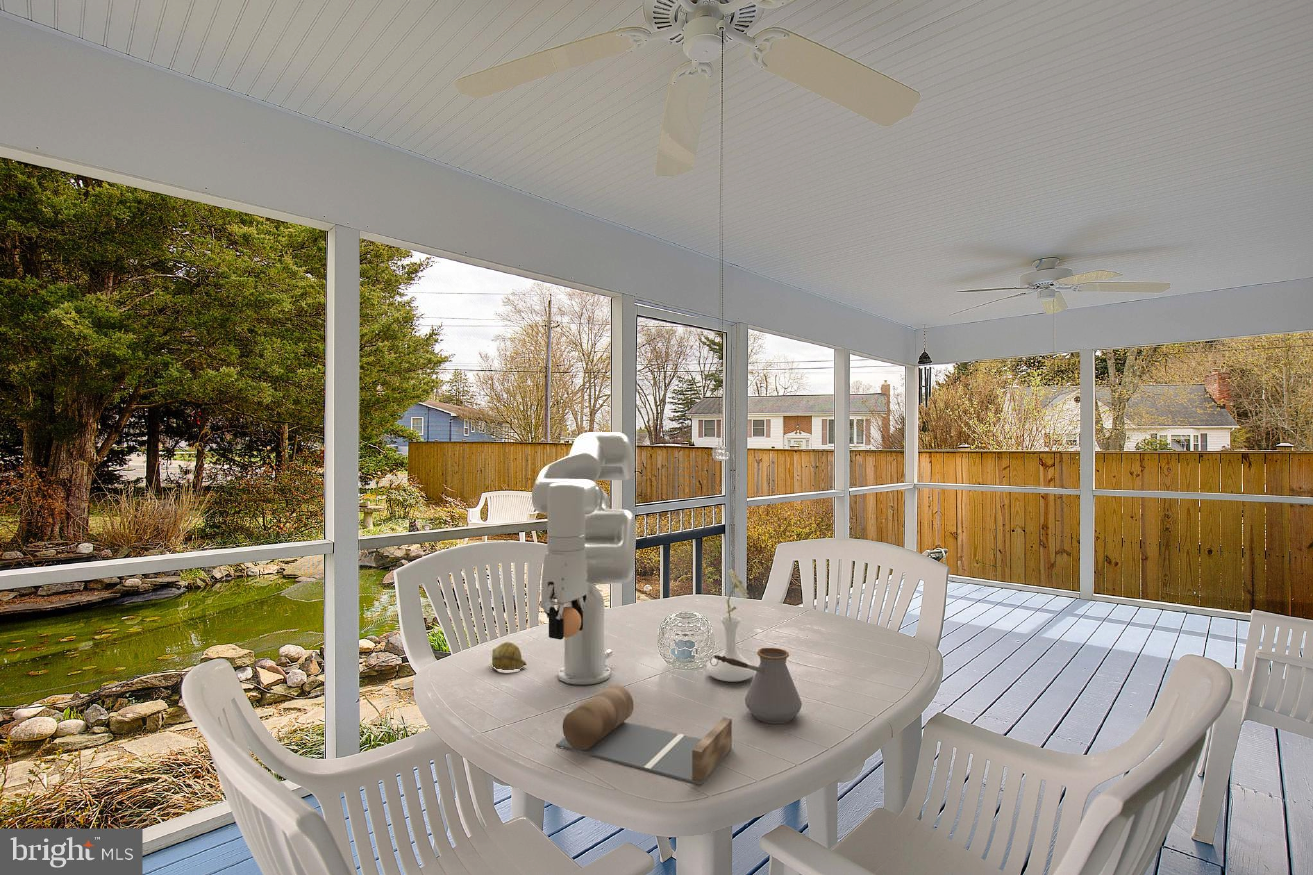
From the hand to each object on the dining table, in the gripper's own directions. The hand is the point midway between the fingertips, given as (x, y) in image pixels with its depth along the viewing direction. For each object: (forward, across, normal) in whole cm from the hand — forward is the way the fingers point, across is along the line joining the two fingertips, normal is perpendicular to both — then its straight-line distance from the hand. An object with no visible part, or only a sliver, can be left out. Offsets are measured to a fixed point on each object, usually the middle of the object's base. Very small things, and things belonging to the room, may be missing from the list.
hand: (566, 632), depth 130 cm
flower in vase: (+18, -38, +20) cm, 47 cm away
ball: (-2, 0, 0) cm, 2 cm away
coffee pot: (+18, -17, +34) cm, 42 cm away
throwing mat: (+17, +3, +19) cm, 26 cm away
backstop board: (+17, +3, +33) cm, 37 cm away
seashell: (+18, -18, -30) cm, 39 cm away
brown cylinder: (+17, +3, +10) cm, 20 cm away
